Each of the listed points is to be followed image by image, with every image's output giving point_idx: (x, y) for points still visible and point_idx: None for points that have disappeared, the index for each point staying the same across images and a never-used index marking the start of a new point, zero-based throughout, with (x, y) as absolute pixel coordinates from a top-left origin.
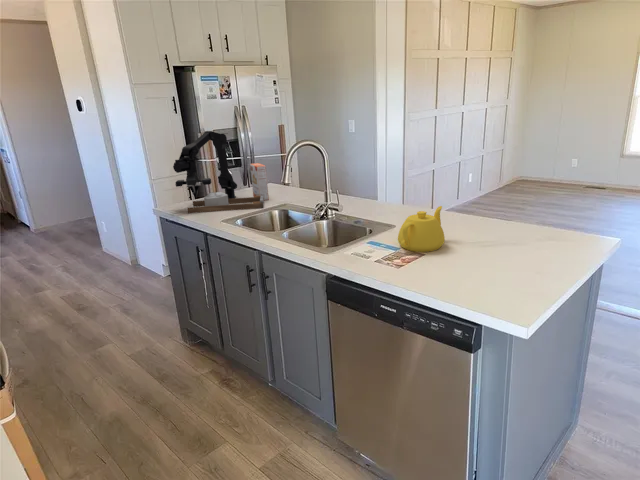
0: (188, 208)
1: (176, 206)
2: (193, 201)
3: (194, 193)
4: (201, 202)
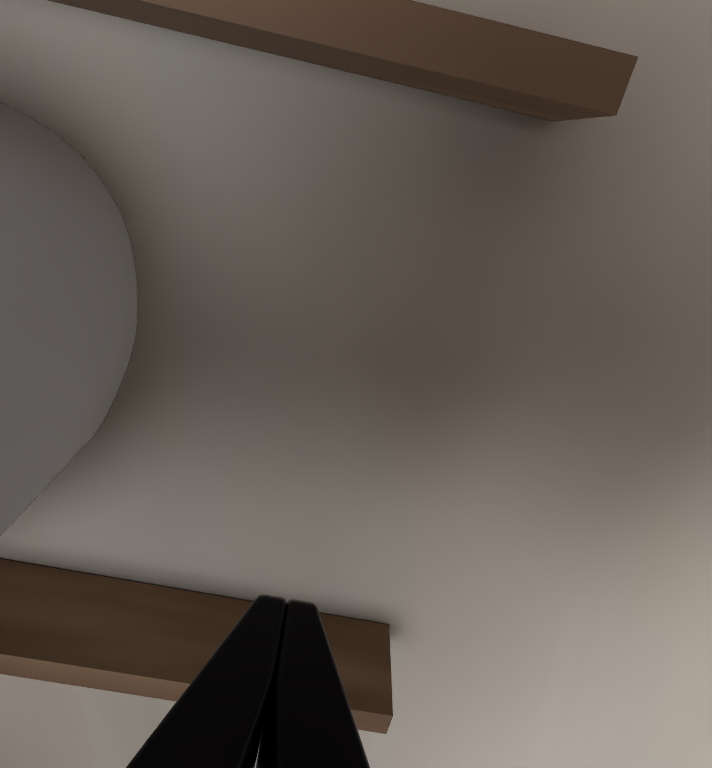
0: (598, 49)
1: (642, 737)
2: (374, 713)
3: (281, 760)
4: None
